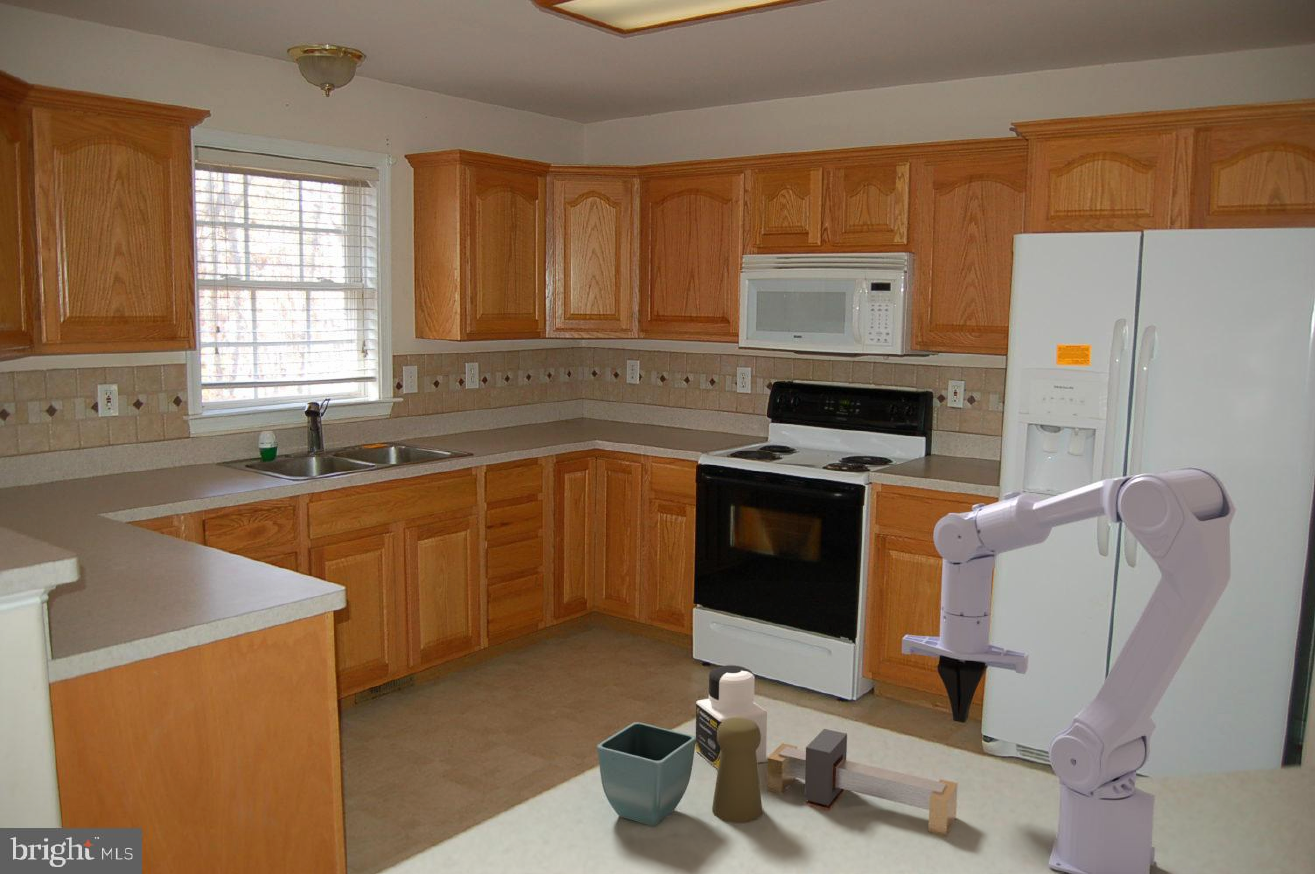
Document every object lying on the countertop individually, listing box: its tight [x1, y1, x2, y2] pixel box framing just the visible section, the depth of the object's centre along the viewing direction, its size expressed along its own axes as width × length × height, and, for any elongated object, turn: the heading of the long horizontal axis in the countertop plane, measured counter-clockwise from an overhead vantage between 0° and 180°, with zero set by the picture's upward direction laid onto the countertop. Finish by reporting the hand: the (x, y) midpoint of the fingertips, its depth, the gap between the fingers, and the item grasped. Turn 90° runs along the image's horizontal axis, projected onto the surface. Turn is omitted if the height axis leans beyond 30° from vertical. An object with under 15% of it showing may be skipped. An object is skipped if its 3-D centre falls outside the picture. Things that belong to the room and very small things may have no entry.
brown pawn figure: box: [711, 717, 764, 824], centre depth 116 cm, size 6×6×11 cm
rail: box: [766, 742, 958, 837], centre depth 118 cm, size 22×7×4 cm, turn 61°
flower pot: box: [596, 721, 696, 827], centre depth 115 cm, size 9×9×9 cm
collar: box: [804, 728, 848, 806], centre depth 120 cm, size 3×6×7 cm, turn 151°
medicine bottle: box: [695, 664, 768, 770], centre depth 130 cm, size 7×7×12 cm
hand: (960, 718), depth 119 cm, fingers closed
